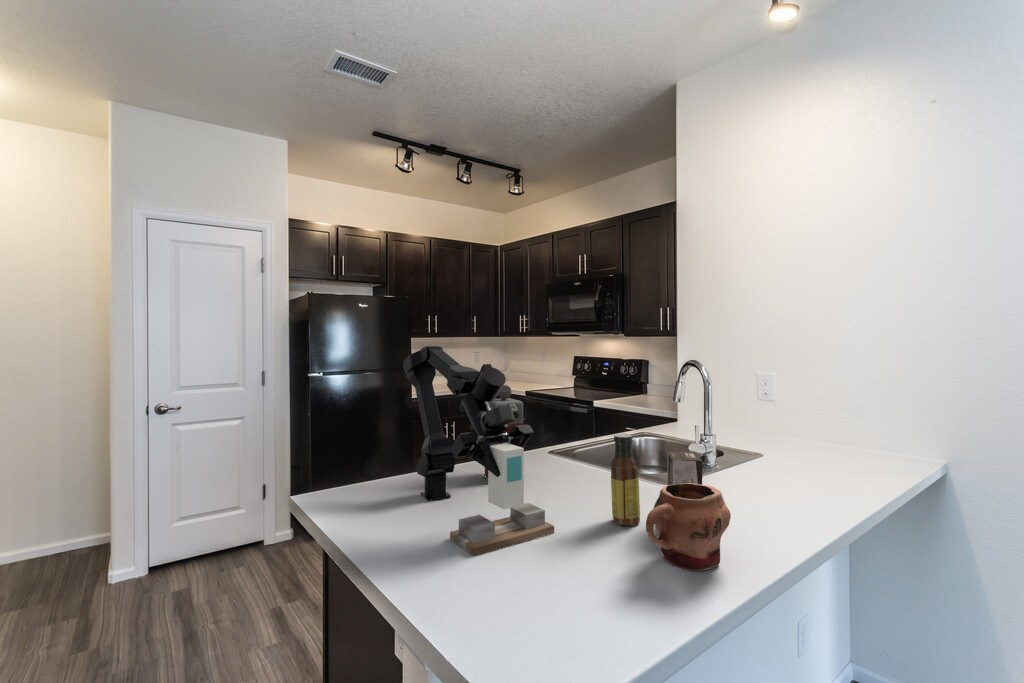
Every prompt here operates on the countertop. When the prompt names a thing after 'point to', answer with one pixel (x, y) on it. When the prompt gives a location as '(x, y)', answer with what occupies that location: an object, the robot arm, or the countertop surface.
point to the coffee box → (684, 468)
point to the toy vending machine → (505, 401)
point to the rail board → (501, 529)
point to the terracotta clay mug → (689, 525)
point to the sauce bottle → (625, 483)
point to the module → (507, 476)
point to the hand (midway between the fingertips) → (509, 473)
